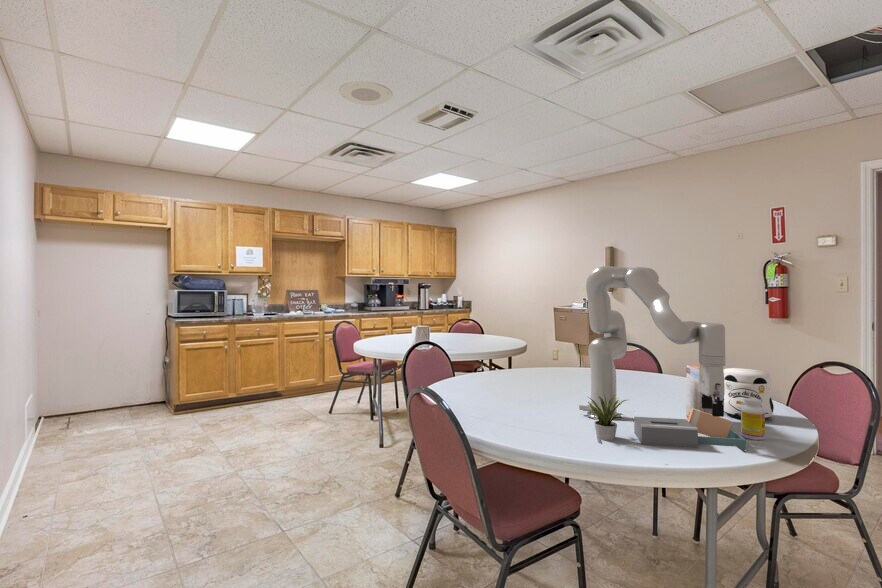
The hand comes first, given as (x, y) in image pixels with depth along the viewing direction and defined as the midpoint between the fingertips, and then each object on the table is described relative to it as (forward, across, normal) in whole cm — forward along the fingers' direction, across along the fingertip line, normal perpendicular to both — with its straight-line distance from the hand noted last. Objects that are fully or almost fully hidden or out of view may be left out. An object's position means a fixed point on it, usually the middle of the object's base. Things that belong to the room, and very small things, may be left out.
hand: (712, 412), depth 145 cm
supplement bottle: (+10, -8, +15) cm, 20 cm away
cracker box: (+10, -24, +4) cm, 26 cm away
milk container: (+10, -36, +24) cm, 44 cm away
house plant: (+10, +7, -33) cm, 35 cm away
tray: (+10, 0, 0) cm, 10 cm away
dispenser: (+10, +6, -16) cm, 20 cm away
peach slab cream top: (+6, 0, +4) cm, 7 cm away
